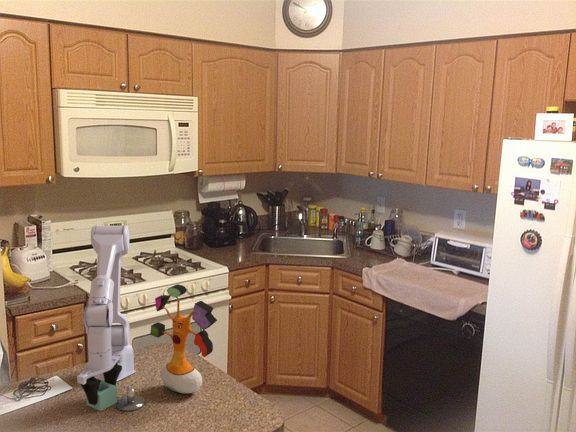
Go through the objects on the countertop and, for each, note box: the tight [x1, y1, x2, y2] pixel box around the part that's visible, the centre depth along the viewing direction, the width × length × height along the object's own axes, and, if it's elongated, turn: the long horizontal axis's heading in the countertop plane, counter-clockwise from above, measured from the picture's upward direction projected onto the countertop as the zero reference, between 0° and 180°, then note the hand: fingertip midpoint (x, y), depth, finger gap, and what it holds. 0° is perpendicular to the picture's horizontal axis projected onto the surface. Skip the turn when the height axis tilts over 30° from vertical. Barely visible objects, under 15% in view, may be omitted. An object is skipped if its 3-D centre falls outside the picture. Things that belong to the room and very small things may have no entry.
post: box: [116, 386, 146, 413], centre depth 144 cm, size 7×7×4 cm
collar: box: [85, 380, 118, 412], centre depth 144 cm, size 5×5×4 cm
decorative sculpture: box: [149, 284, 218, 394], centre depth 150 cm, size 20×8×30 cm, turn 65°
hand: (101, 397), depth 145 cm, fingers closed on collar, 6 cm apart
